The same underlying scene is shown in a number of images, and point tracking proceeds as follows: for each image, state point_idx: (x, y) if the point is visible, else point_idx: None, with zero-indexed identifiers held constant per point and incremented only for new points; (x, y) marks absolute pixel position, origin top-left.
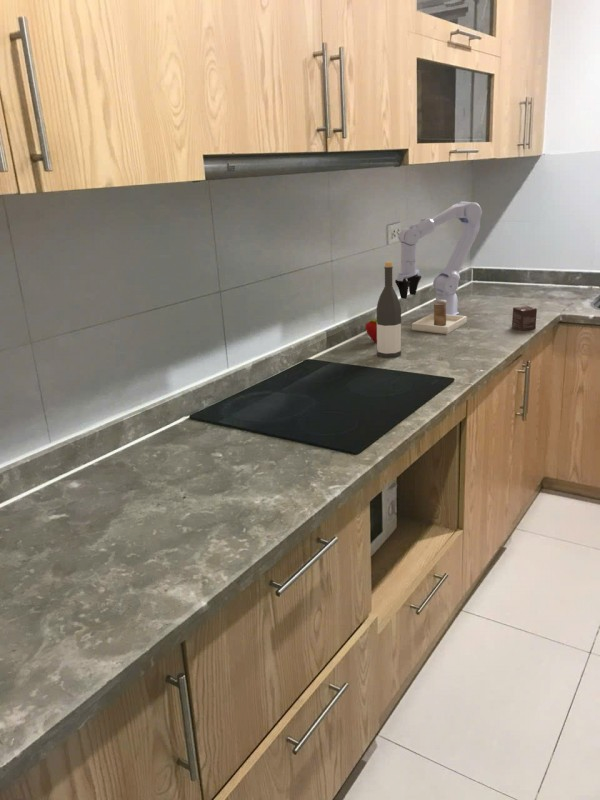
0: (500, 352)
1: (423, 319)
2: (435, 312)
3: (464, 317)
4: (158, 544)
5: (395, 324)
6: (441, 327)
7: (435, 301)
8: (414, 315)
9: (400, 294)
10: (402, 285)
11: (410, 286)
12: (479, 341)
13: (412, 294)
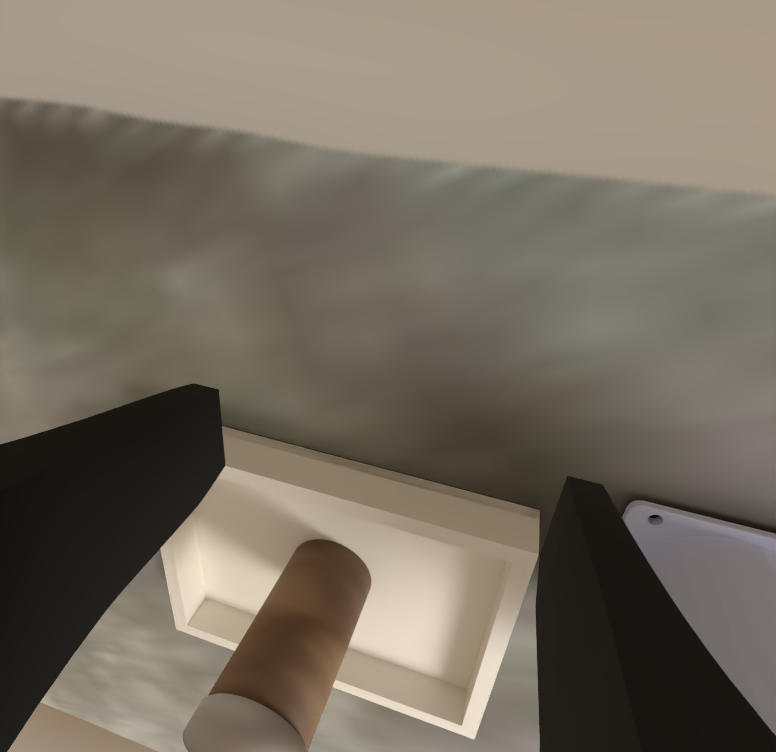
0: (99, 715)
1: (302, 497)
2: (246, 633)
3: (436, 723)
4: None
5: None
6: (174, 599)
7: (200, 731)
8: (713, 322)
9: (126, 412)
10: None
11: (589, 642)
12: (171, 687)
13: (553, 521)
